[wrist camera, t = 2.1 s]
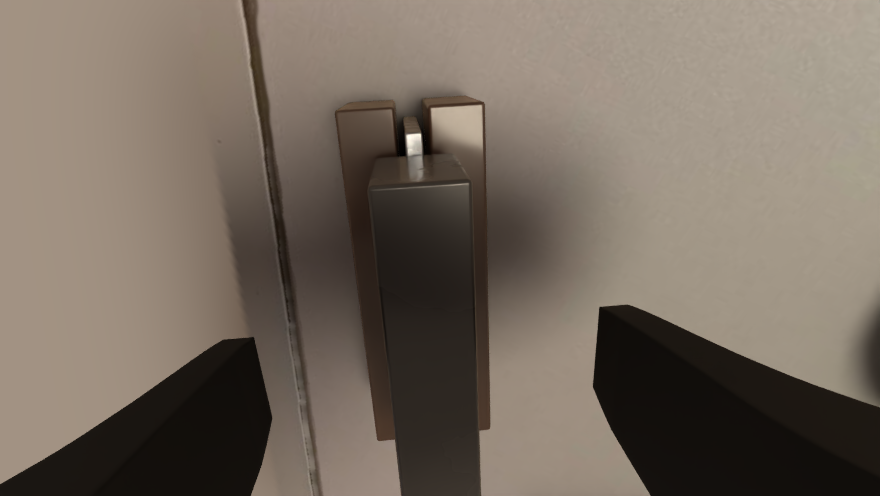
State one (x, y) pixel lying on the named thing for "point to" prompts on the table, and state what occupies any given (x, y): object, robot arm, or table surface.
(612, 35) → the table surface
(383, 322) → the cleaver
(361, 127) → the knife rack
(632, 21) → the table surface
